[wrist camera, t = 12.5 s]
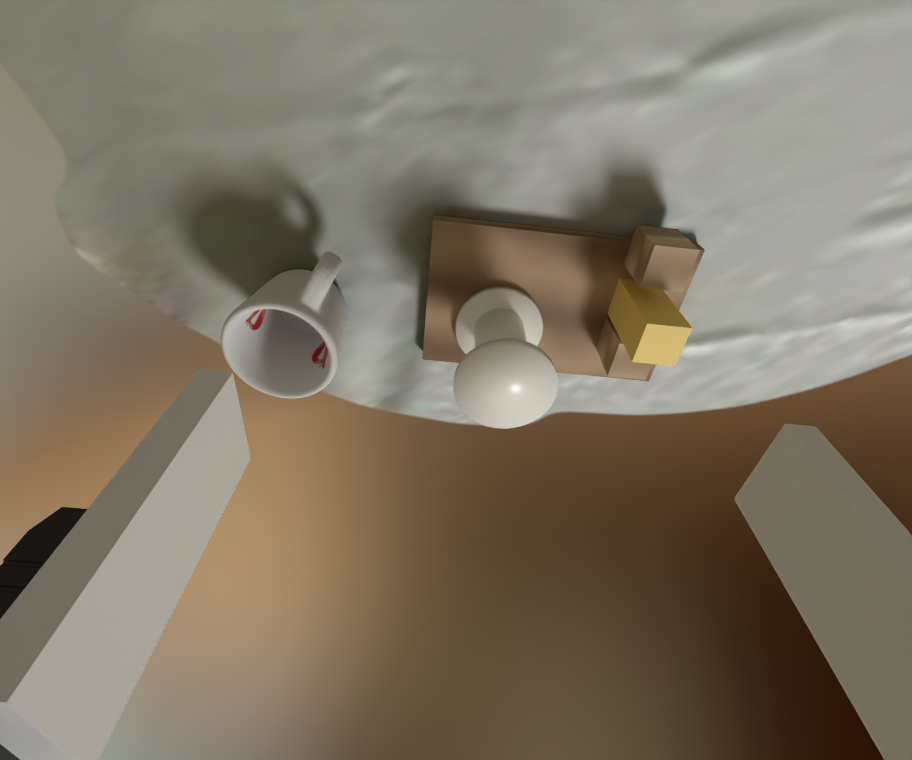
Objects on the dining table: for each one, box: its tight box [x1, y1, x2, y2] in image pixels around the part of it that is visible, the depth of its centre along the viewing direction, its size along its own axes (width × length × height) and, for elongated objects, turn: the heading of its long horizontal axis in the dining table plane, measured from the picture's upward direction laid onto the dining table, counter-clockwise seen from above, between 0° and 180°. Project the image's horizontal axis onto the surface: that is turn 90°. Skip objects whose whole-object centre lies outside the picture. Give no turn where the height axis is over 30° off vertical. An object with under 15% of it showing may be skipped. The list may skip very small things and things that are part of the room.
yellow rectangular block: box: [608, 278, 692, 366], centre depth 35 cm, size 3×3×7 cm
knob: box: [454, 286, 558, 428], centre depth 36 cm, size 7×7×9 cm
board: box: [422, 215, 704, 381], centre depth 37 cm, size 13×20×5 cm, turn 84°
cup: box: [221, 252, 347, 398], centre depth 35 cm, size 11×8×8 cm
